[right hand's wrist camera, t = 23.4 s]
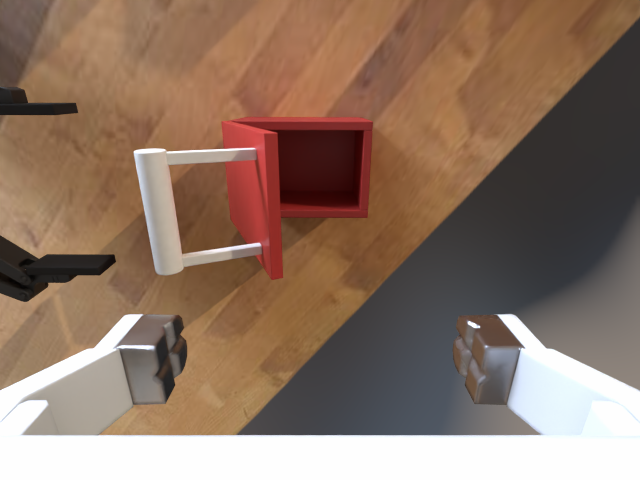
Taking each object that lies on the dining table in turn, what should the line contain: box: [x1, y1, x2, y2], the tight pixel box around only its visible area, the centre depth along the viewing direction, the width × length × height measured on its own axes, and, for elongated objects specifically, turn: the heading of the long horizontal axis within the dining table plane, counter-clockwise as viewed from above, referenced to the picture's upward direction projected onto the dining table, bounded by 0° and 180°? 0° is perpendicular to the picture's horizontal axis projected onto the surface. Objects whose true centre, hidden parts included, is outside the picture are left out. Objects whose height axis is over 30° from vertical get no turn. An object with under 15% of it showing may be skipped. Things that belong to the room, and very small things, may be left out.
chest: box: [230, 117, 373, 218], centre depth 39 cm, size 14×10×9 cm
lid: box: [134, 121, 283, 280], centre depth 27 cm, size 14×10×8 cm
